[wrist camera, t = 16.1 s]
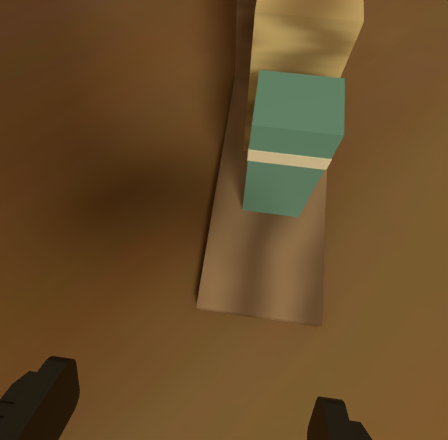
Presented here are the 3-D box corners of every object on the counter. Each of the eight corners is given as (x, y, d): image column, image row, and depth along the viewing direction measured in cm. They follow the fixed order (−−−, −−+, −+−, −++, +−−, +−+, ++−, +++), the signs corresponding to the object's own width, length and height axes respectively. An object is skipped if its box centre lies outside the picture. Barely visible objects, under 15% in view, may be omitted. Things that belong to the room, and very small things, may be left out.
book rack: (197, 309, 27) (151, 251, 11) (236, 77, 36) (243, -152, 20) (316, 326, 27) (466, 295, 10) (325, 86, 36) (412, -142, 19)
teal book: (241, 210, 29) (250, 125, 18) (247, 170, 30) (258, 69, 19) (299, 217, 29) (344, 136, 18) (301, 177, 30) (345, 78, 19)
